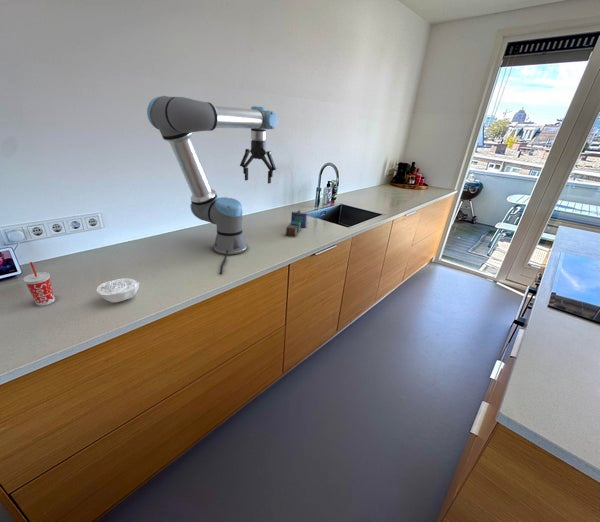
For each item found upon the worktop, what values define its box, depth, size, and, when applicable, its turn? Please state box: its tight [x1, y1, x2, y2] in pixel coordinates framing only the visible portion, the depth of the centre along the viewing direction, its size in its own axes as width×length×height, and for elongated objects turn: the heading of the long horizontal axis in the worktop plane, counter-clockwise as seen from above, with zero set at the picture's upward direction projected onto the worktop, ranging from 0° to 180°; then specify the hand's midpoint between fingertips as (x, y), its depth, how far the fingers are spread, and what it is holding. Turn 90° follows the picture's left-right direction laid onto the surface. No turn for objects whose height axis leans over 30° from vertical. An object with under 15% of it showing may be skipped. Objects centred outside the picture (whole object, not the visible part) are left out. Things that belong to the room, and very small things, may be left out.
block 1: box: [289, 221, 302, 234], centre depth 165 cm, size 5×5×5 cm
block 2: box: [285, 224, 298, 238], centre depth 158 cm, size 5×5×5 cm
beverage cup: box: [22, 261, 56, 307], centre depth 88 cm, size 6×6×14 cm
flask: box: [290, 209, 308, 229], centre depth 170 cm, size 9×3×11 cm, turn 87°
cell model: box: [96, 277, 140, 304], centre depth 94 cm, size 10×12×7 cm
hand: (257, 181), depth 158 cm, fingers open, 13 cm apart
